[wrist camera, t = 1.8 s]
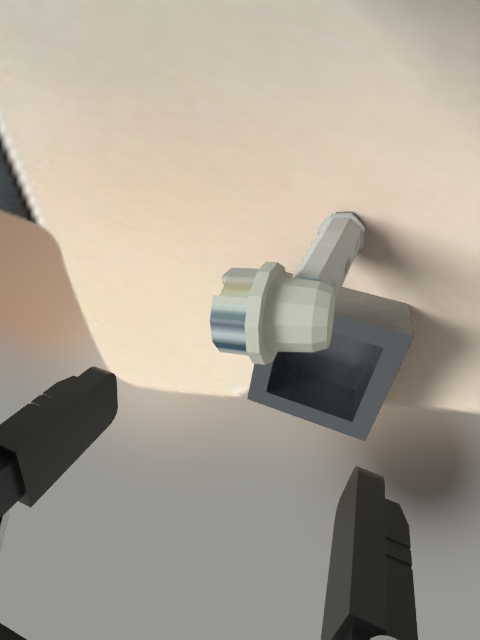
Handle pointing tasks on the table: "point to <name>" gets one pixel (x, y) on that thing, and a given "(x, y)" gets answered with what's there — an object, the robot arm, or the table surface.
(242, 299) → the light grey piece
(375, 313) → the open box
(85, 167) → the table surface
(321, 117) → the table surface
